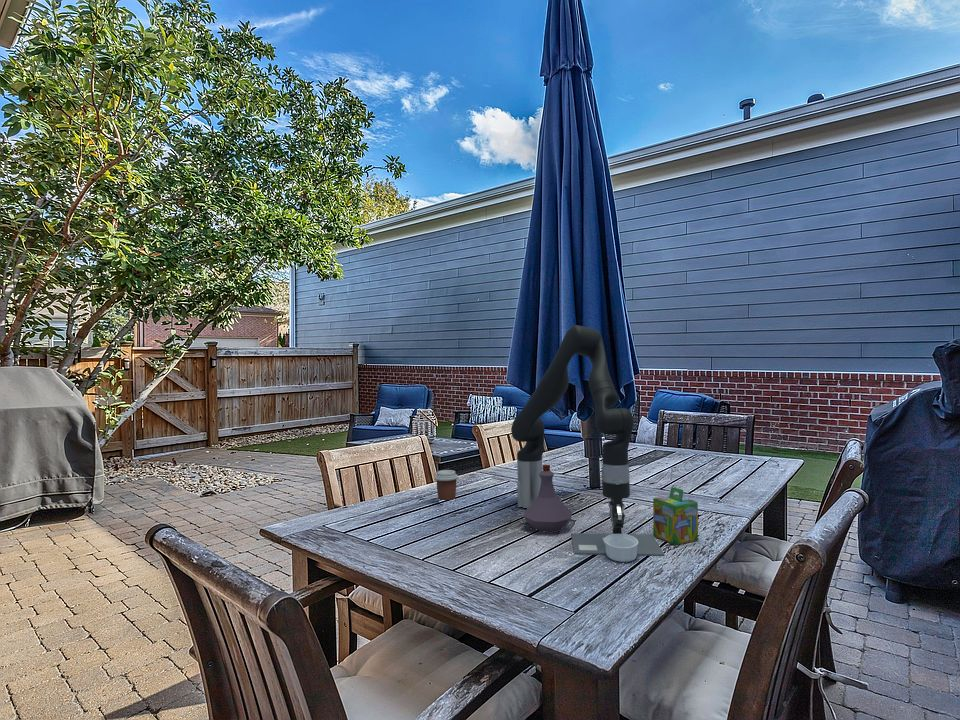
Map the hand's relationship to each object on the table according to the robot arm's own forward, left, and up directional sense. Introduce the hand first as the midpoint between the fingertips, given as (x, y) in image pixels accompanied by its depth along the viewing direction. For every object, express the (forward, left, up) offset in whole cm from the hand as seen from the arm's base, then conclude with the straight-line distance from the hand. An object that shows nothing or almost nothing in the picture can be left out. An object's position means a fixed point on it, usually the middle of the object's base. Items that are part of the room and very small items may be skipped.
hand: (617, 540), depth 143 cm
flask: (-19, +17, -3) cm, 26 cm away
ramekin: (0, -6, -2) cm, 7 cm away
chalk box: (+18, +9, -3) cm, 20 cm away
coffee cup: (-57, +44, -3) cm, 72 cm away
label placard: (0, +3, -2) cm, 4 cm away
